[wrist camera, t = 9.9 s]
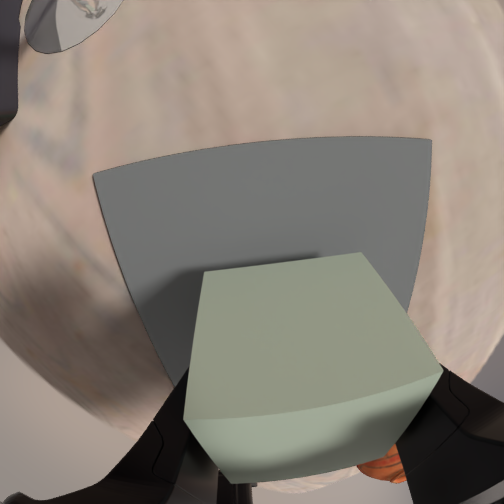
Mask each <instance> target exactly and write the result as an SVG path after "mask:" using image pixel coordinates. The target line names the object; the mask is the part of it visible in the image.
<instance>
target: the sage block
mask: <svg viewBox="0 0 504 504" xmlns="http://www.w3.org/2000/svg"><path fill="white" fill-rule="evenodd" d="M442 373H443V369H442V367H441V366H440V364H439V362H438V361H437V359H436V357H435V356H434V354H433V353H432V351H431V349H430V348H429V346H428V345H427V343H426V342H425V340H424V338H423V337H422V335H421V334H420V332H419V331H418V329H417V328H416V326H415V325H414V323H413V322H412V320H411V319H410V317H409V316H408V315H407V313H406V312H405V310H404V309H403V307H402V306H401V305H400V303H399V302H398V300H397V299H396V297H395V296H394V295H393V293H392V292H391V291H390V289H389V288H388V286H387V285H386V284H385V282H384V281H383V280H382V278H381V277H380V276H379V274H378V273H377V272H376V270H375V269H374V268H373V266H372V265H371V264H370V263H369V261H368V260H367V259H366V257H365V256H364V255H363V254H362V252H358V253H351V254H343V255H336V256H328V257H321V258H313V259H305V260H297V261H289V262H282V263H274V264H265V265H257V266H249V267H241V268H232V269H224V270H215V271H207V272H204V276H203V282H202V288H201V294H200V300H199V306H198V313H197V319H196V326H195V332H194V339H193V346H192V353H191V360H190V368H189V375H188V383H187V391H186V400H185V408H184V418H183V420H184V421H185V423H186V424H187V426H188V427H189V429H190V430H191V432H192V433H193V435H194V436H195V437H196V439H197V440H198V442H199V443H200V444H201V446H202V447H203V449H204V450H205V451H206V453H207V454H208V455H209V457H210V458H211V459H212V460H213V462H214V463H215V464H216V466H217V467H218V468H219V469H220V471H221V472H222V473H223V474H224V476H225V477H226V478H227V479H228V480H229V482H230V483H231V484H238V483H256V482H268V481H277V480H286V479H293V478H300V477H306V476H311V475H317V474H322V473H327V472H331V471H336V470H340V469H344V468H348V467H352V466H356V465H359V464H363V463H366V462H369V461H373V460H376V459H379V458H382V457H384V456H385V455H386V453H387V452H388V451H389V450H390V449H391V447H392V446H393V445H394V444H395V443H396V441H397V440H398V439H399V437H400V436H401V435H402V434H403V432H404V431H405V430H406V428H407V427H408V425H409V424H410V423H411V421H412V420H413V419H414V417H415V416H416V414H417V413H418V411H419V410H420V408H421V407H422V405H423V404H424V402H425V401H426V399H427V398H428V396H429V395H430V393H431V391H432V390H433V388H434V386H435V385H436V383H437V381H438V380H439V378H440V376H441V374H442Z"/></svg>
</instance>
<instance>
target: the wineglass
mask: <svg viewBox="0 0 504 504" xmlns="http://www.w3.org/2000/svg"><path fill="white" fill-rule="evenodd" d="M122 1H123V0H32V1H31V3H30V6H29V9H28V11H27V14H26V18H25V29H24V31H25V35H26V39H27V42H28V43H29V44H30V45H31V46H32V48H33V49H34V50H36V51H40V52H43V53H53V52H59V51H64V50H66V49H68V48H70V47H72V46H74V45H76V44H79V43H80V42H82V41H83V40H84V39H86V38H87V37H88V36H90V35H91V34H93V33H94V32H95V31H97V30H98V29H99V28H100V27H101V26H102V25H103V24H104V23H105V22H106V21H107V20H108V19H109V18H110V17H111V16H112V15H113V14H114V13H115V11H116V10H117V8H118V7H119V6H120V4H121V3H122Z"/></svg>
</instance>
